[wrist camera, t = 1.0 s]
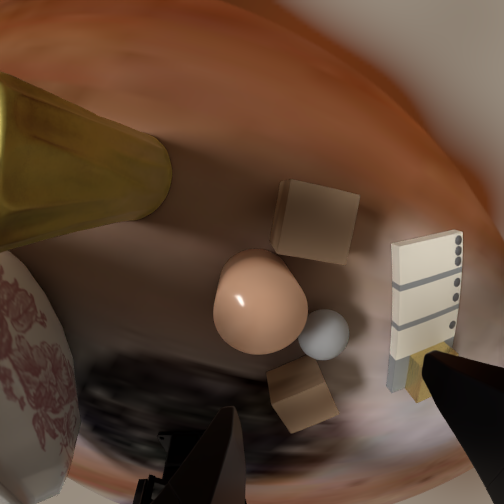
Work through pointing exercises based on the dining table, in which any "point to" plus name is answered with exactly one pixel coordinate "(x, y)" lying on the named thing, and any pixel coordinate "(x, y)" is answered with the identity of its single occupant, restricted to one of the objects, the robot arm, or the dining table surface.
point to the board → (423, 298)
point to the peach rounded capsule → (258, 303)
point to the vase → (70, 167)
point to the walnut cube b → (313, 221)
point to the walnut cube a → (300, 394)
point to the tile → (414, 375)
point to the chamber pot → (33, 390)
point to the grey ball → (324, 334)
